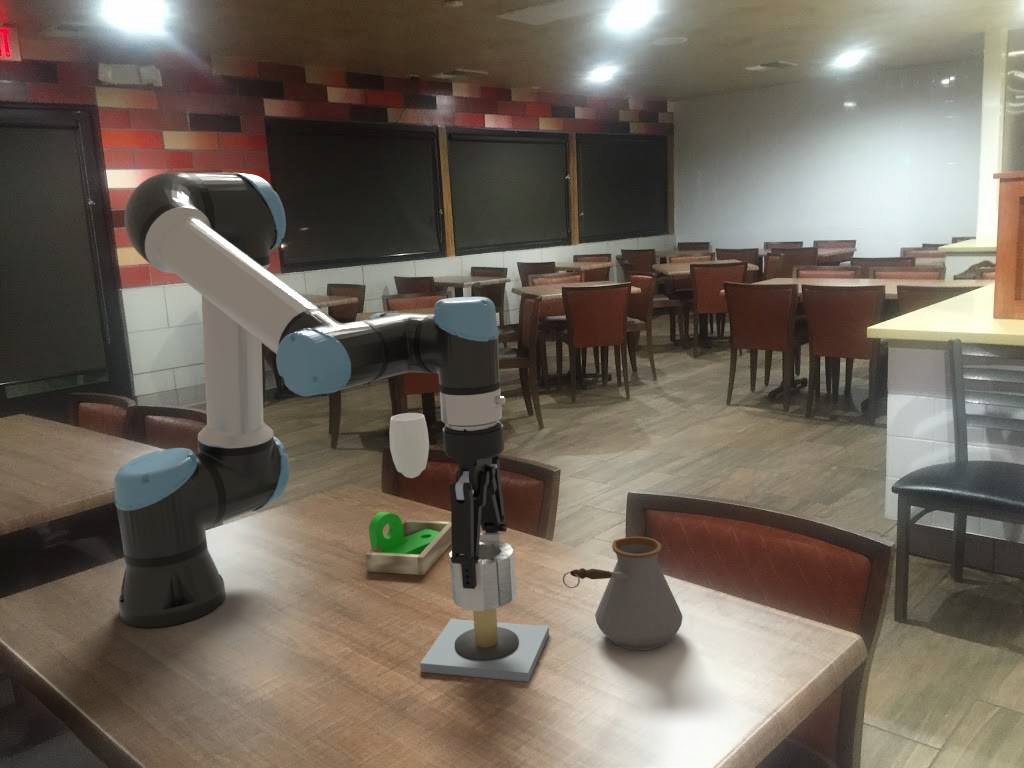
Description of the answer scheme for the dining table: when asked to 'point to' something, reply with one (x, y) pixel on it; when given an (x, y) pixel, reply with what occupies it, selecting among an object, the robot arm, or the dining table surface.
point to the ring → (490, 574)
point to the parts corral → (411, 561)
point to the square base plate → (486, 648)
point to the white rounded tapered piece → (409, 443)
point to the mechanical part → (397, 535)
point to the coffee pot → (635, 597)
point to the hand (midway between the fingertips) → (483, 593)
